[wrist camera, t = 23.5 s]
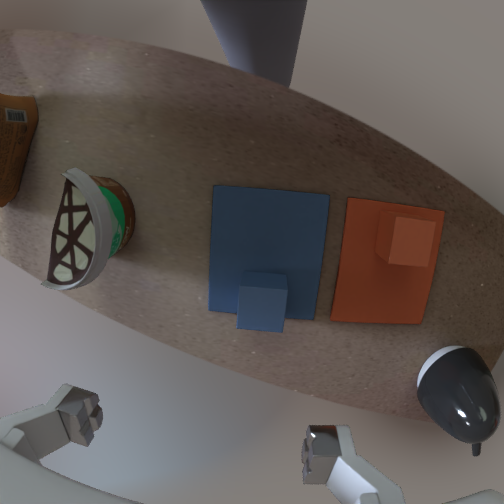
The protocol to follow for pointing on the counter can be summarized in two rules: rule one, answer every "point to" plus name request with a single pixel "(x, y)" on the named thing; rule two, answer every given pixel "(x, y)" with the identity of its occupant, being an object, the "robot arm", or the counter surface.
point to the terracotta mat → (380, 270)
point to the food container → (88, 229)
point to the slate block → (262, 301)
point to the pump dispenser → (460, 395)
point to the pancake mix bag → (15, 141)
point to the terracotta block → (404, 238)
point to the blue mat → (267, 244)
